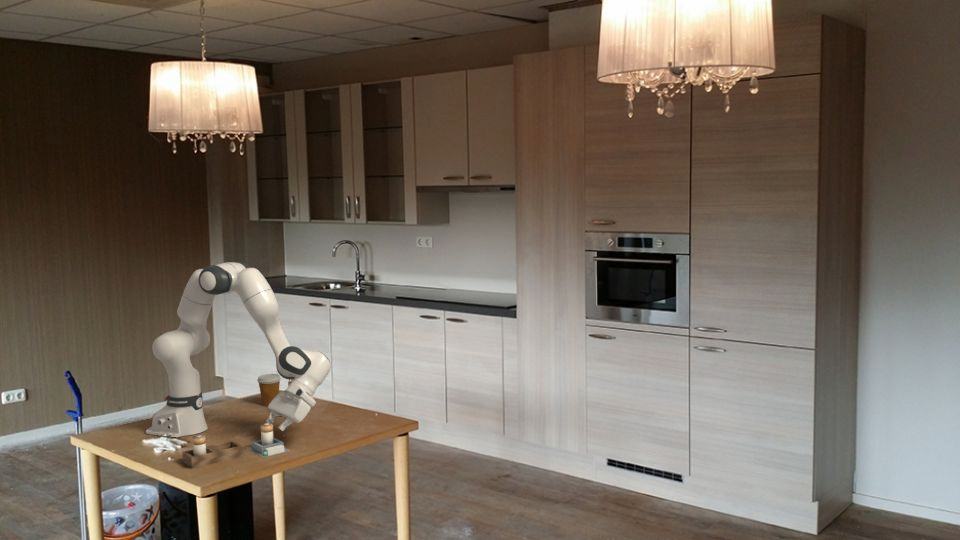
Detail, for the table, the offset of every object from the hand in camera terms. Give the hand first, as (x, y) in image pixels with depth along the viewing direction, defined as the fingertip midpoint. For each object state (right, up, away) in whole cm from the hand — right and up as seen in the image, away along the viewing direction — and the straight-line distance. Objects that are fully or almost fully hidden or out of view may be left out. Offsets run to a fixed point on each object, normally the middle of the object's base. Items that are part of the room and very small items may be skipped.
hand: (274, 426), depth 291 cm
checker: (-2, -9, -1) cm, 9 cm away
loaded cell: (-21, -9, -13) cm, 27 cm away
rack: (-18, -10, -10) cm, 23 cm away
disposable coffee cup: (-17, -2, +62) cm, 65 cm away
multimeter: (-7, -4, +44) cm, 45 cm away
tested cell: (-2, -8, -1) cm, 8 cm away
